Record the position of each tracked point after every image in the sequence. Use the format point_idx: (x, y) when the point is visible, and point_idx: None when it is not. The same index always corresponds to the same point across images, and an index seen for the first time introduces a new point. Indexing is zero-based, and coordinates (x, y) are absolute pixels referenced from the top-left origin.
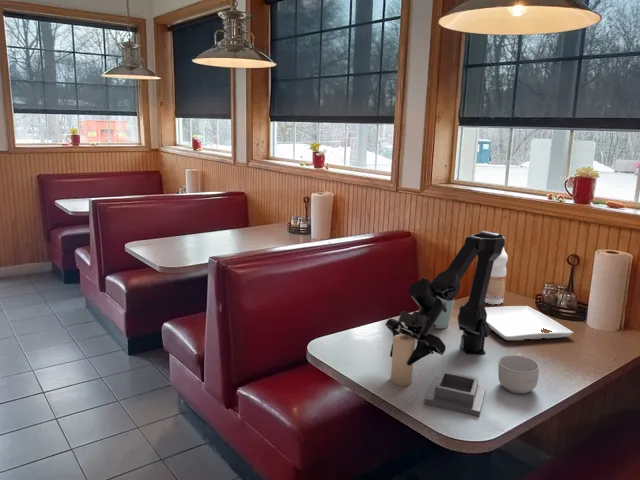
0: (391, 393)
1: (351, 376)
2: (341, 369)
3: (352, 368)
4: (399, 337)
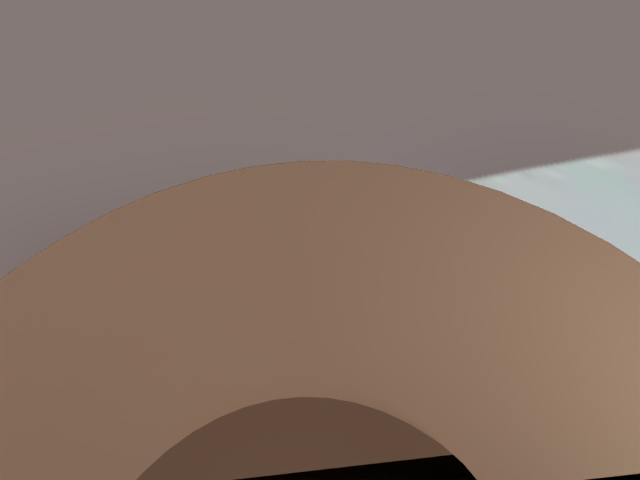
0: None
1: (493, 187)
2: (595, 173)
3: (605, 234)
4: (508, 467)
